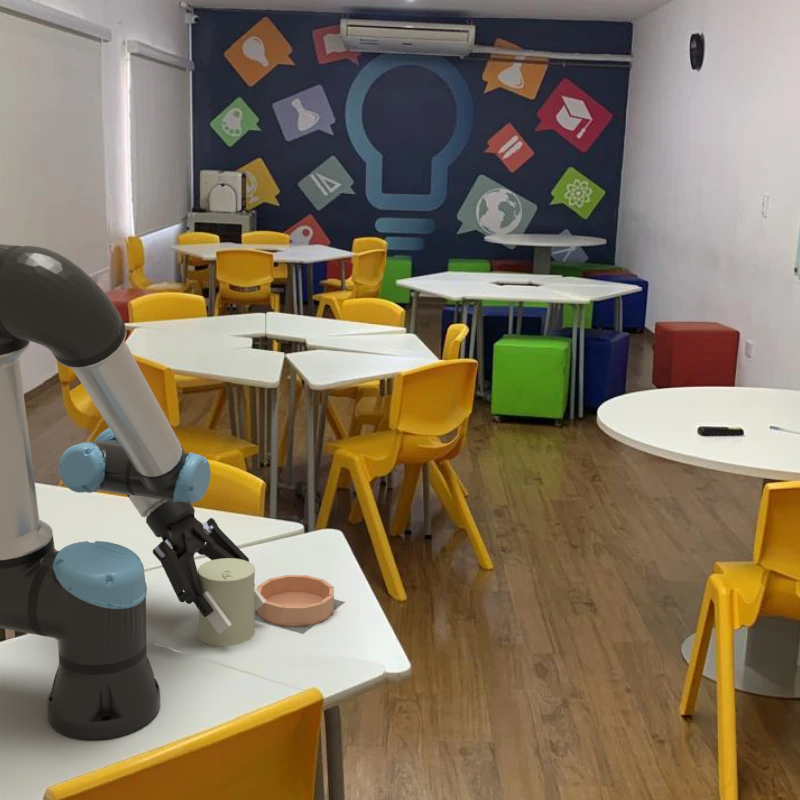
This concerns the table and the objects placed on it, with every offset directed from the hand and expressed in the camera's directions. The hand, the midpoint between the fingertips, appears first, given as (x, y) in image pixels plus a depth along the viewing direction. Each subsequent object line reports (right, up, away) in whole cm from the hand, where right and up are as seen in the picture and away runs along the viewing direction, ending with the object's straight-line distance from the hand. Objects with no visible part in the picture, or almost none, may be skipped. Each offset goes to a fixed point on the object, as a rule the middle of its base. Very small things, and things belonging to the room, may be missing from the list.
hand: (243, 617), depth 158 cm
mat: (+7, -1, +12) cm, 14 cm away
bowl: (+7, -1, +11) cm, 14 cm away
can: (-3, -3, +2) cm, 5 cm away
